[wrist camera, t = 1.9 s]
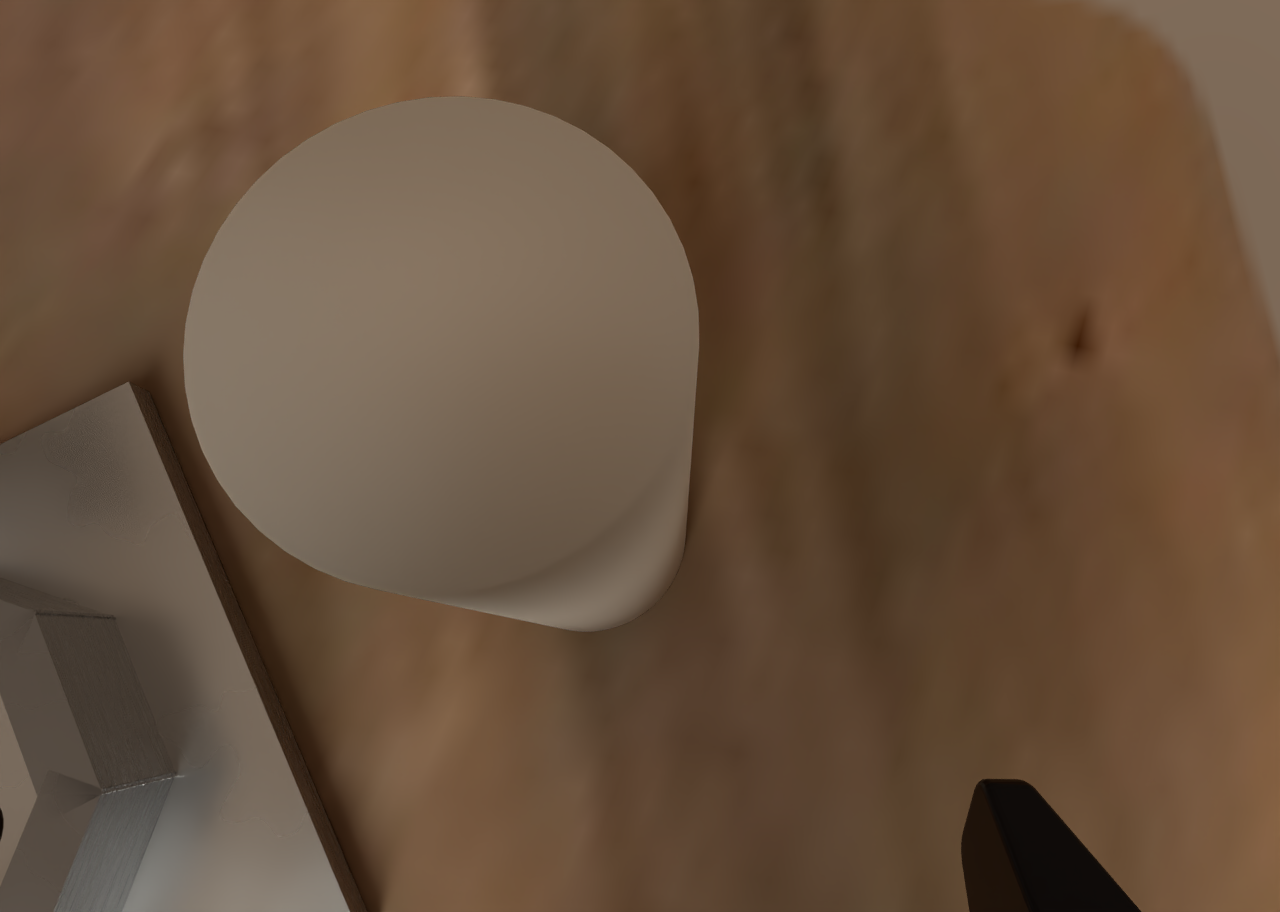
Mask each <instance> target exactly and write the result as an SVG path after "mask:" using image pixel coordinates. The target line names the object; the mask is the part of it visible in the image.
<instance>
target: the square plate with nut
mask: <svg viewBox="0 0 1280 912" xmlns="http://www.w3.org/2000/svg"><path fill="white" fill-rule="evenodd" d="M0 808H1V810H2V813H3V818H4V828H3V833H2V838H1V841H0V912H367V909H366V907H365V905H364V902H363V900H362V897H361V895H360V893H359V890H358V888H357V886H356V883H355V881H354V878H353V876H352V874H351V871H350V869H349V866H348V864H347V862H346V859H345V857H344V855H343V852H342V850H341V847H340V845H339V843H338V840H337V838H336V836H335V833H334V831H333V828H332V826H331V824H330V821H329V819H328V817H327V814H326V812H325V809H324V807H323V805H322V802H321V800H320V798H319V795H318V793H317V790H316V788H315V786H314V783H313V781H312V778H311V776H310V774H309V771H308V769H307V767H306V764H305V762H304V759H303V757H302V755H301V752H300V750H299V748H298V745H297V743H296V740H295V738H294V736H293V733H292V731H291V729H290V726H289V724H288V721H287V719H286V717H285V714H284V712H283V709H282V707H281V705H280V702H279V700H278V698H277V695H276V693H275V690H274V688H273V686H272V683H271V681H270V679H269V676H268V674H267V671H266V669H265V667H264V664H263V662H262V660H261V657H260V655H259V652H258V650H257V648H256V645H255V643H254V640H253V638H252V636H251V633H250V631H249V629H248V626H247V624H246V621H245V619H244V617H243V614H242V612H241V610H240V607H239V605H238V602H237V600H236V598H235V595H234V593H233V591H232V588H231V586H230V583H229V581H228V579H227V576H226V574H225V572H224V569H223V567H222V564H221V562H220V560H219V557H218V555H217V552H216V550H215V548H214V545H213V543H212V541H211V538H210V536H209V533H208V531H207V529H206V526H205V524H204V522H203V519H202V517H201V514H200V512H199V510H198V507H197V505H196V503H195V500H194V498H193V495H192V493H191V491H190V488H189V486H188V483H187V481H186V479H185V476H184V474H183V472H182V469H181V467H180V464H179V462H178V460H177V457H176V455H175V453H174V450H173V448H172V445H171V443H170V441H169V438H168V436H167V434H166V431H165V429H164V426H163V424H162V422H161V419H160V417H159V415H158V412H157V410H156V407H155V405H154V403H153V400H152V398H151V395H150V393H149V391H147V390H145V389H143V388H141V387H139V386H137V385H135V384H133V383H131V382H127V383H125V384H123V385H121V386H119V387H117V388H115V389H112V390H110V391H108V392H106V393H104V394H102V395H100V396H98V397H96V398H94V399H92V400H90V401H88V402H86V403H84V404H82V405H80V406H78V407H76V408H74V409H71V410H69V411H67V412H65V413H63V414H61V415H59V416H57V417H55V418H53V419H51V420H49V421H47V422H45V423H43V424H41V425H39V426H37V427H35V428H33V429H31V430H28V431H26V432H24V433H22V434H20V435H18V436H16V437H14V438H12V439H10V440H8V441H6V442H4V443H2V444H0Z"/></svg>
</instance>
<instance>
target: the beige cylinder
mask: <svg viewBox="0 0 1280 912" xmlns="http://www.w3.org/2000/svg"><path fill="white" fill-rule="evenodd" d="M698 355H699V311H698V305H697V298H696V292H695V286H694V280H693V276H692V273H691V270H690V267H689V263H688V260H687V257H686V254H685V250H684V247H683V245H682V243H681V241H680V239H679V237H678V235H677V233H676V230H675V228H674V226H673V224H672V222H671V220H670V218H669V216H668V215H667V213H666V212H665V210H664V209H663V207H662V206H661V204H660V203H659V201H658V200H657V198H656V196H655V195H654V193H653V192H652V191H651V190H650V189H649V187H648V186H647V185H646V184H645V183H644V182H643V180H642V179H641V178H640V177H639V176H638V175H637V173H636V172H635V171H634V170H633V169H632V168H631V167H630V166H629V165H628V164H626V163H625V162H624V161H623V160H622V159H621V158H620V157H619V156H617V155H616V154H615V153H614V152H613V151H612V150H611V149H610V148H608V147H607V146H605V145H604V144H602V143H601V142H599V141H598V140H596V139H595V138H593V137H592V136H590V135H589V134H588V133H586V132H585V131H583V130H581V129H579V128H577V127H575V126H573V125H571V124H569V123H567V122H565V121H563V120H561V119H559V118H557V117H555V116H553V115H550V114H547V113H544V112H541V111H538V110H535V109H533V108H530V107H527V106H523V105H519V104H514V103H509V102H505V101H500V100H495V99H487V98H476V97H464V96H455V97H428V98H422V99H415V100H409V101H402V102H397V103H393V104H389V105H386V106H382V107H379V108H375V109H371V110H368V111H365V112H362V113H360V114H357V115H355V116H353V117H350V118H348V119H345V120H343V121H340V122H338V123H336V124H334V125H332V126H330V127H328V128H327V129H325V130H323V131H321V132H319V133H318V134H316V135H314V136H312V137H310V138H308V139H307V140H306V141H304V142H303V143H301V144H300V145H299V146H297V147H296V148H294V149H293V150H292V151H290V152H289V153H287V154H286V155H285V156H283V157H282V158H281V159H280V160H278V161H277V162H276V163H275V164H274V165H273V166H272V167H271V168H270V169H269V170H267V171H266V172H265V173H264V174H263V175H262V176H261V177H260V178H259V179H258V180H257V181H256V182H255V183H254V184H253V185H252V187H251V188H250V189H249V190H248V191H247V192H246V193H245V195H244V196H243V197H242V198H241V199H240V200H239V202H238V203H237V204H236V205H235V207H234V208H233V210H232V211H231V213H230V214H229V216H228V217H227V219H226V220H225V222H224V223H223V225H222V226H221V228H220V229H219V231H218V232H217V234H216V236H215V238H214V240H213V242H212V244H211V246H210V248H209V250H208V252H207V254H206V256H205V258H204V260H203V263H202V266H201V268H200V271H199V274H198V277H197V280H196V283H195V286H194V288H193V291H192V296H191V300H190V305H189V310H188V315H187V319H186V325H185V338H184V351H183V362H184V379H185V390H186V396H187V401H188V406H189V411H190V416H191V420H192V423H193V426H194V429H195V432H196V435H197V438H198V441H199V443H200V446H201V449H202V452H203V454H204V455H205V457H206V459H207V461H208V463H209V465H210V467H211V469H212V471H213V473H214V475H215V477H216V479H217V480H218V482H219V483H220V485H221V486H222V487H223V489H224V490H225V492H226V493H227V495H228V496H229V497H230V499H231V500H232V502H233V503H234V504H235V506H236V507H237V508H238V509H239V510H240V511H241V512H242V513H243V514H244V515H245V517H246V518H247V519H248V520H249V521H250V522H251V523H252V524H253V525H254V526H255V527H256V528H257V529H258V530H259V531H260V532H261V533H262V534H264V535H265V536H266V537H268V538H269V539H270V540H271V541H273V542H274V543H275V544H276V545H278V546H279V547H280V548H281V549H283V550H284V551H285V552H287V553H289V554H290V555H292V556H294V557H295V558H297V559H299V560H301V561H302V562H304V563H306V564H307V565H309V566H311V567H313V568H314V569H317V570H319V571H321V572H324V573H326V574H329V575H331V576H334V577H336V578H338V579H341V580H343V581H346V582H349V583H353V584H357V585H361V586H365V587H369V588H372V589H376V590H380V591H385V592H390V593H394V594H399V595H404V596H409V597H413V598H418V599H423V600H428V601H432V602H437V603H442V604H447V605H451V606H456V607H461V608H466V609H470V610H475V611H480V612H485V613H489V614H494V615H499V616H504V617H508V618H513V619H518V620H523V621H527V622H532V623H537V624H542V625H546V626H551V627H556V628H561V629H565V630H571V631H580V632H595V631H601V630H608V629H611V628H615V627H618V626H621V625H623V624H626V623H628V622H630V621H632V620H634V619H636V618H637V617H639V616H641V615H642V614H644V613H645V612H646V611H648V610H649V609H650V608H651V607H653V606H654V605H655V604H656V603H657V602H658V601H659V599H660V598H661V597H662V596H663V595H664V594H665V592H666V591H667V590H668V588H669V587H670V585H671V584H672V582H673V580H674V578H675V576H676V574H677V572H678V569H679V567H680V564H681V561H682V557H683V553H684V548H685V539H686V526H687V512H688V497H689V483H690V469H691V455H692V440H693V426H694V412H695V398H696V383H697V369H698Z"/></svg>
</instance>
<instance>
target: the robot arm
mask: <svg viewBox="0 0 1280 912" xmlns="http://www.w3.org/2000/svg"><path fill="white" fill-rule="evenodd" d="M3 828H4V818H3V813H2V810H1V808H0V841H1V838H2V833H3ZM961 855H962V865H963V872H964V879H965V885H966V892H967V898H968V905H969V912H1141V911H1140V910H1139V908H1138V907H1137V906H1136V905H1135V904H1134V903H1133V901H1132V900H1131V899H1130V898H1129V897H1128V896H1127V894H1126V893H1125V892H1124V891H1123V890H1122V889H1121V888H1120V886H1119V885H1118V884H1117V883H1116V882H1115V881H1114V879H1113V878H1112V877H1111V876H1110V875H1109V874H1108V872H1107V871H1106V870H1105V869H1104V868H1103V867H1102V866H1101V864H1100V863H1099V862H1098V861H1097V860H1096V859H1095V857H1094V856H1093V855H1092V854H1091V853H1090V852H1089V850H1088V849H1087V848H1086V847H1085V846H1084V845H1083V844H1082V842H1081V841H1080V840H1079V839H1078V838H1077V837H1076V835H1075V834H1074V833H1073V832H1072V831H1071V830H1070V828H1069V827H1068V826H1067V825H1066V824H1065V823H1064V822H1063V820H1062V819H1061V818H1060V817H1059V816H1058V815H1057V813H1056V812H1055V811H1054V810H1053V809H1052V808H1051V806H1050V805H1049V804H1048V803H1047V802H1046V801H1045V799H1044V798H1043V797H1042V796H1041V795H1040V794H1039V793H1038V791H1037V790H1036V789H1035V788H1034V787H1033V786H1032V785H1030V784H1029V783H1027V782H1025V781H1023V780H1018V779H983V780H981V781H980V782H979V783H978V784H977V785H976V787H975V790H974V793H973V797H972V801H971V804H970V808H969V812H968V816H967V819H966V823H965V827H964V831H963V835H962V842H961Z"/></svg>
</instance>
